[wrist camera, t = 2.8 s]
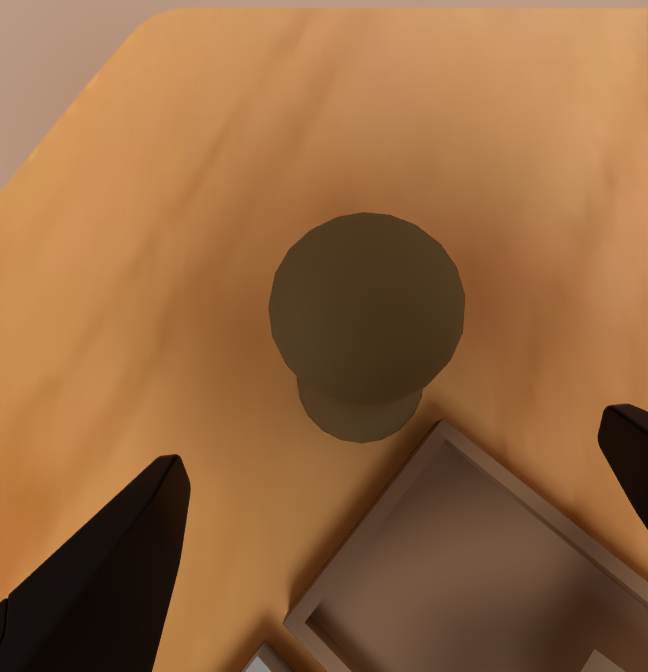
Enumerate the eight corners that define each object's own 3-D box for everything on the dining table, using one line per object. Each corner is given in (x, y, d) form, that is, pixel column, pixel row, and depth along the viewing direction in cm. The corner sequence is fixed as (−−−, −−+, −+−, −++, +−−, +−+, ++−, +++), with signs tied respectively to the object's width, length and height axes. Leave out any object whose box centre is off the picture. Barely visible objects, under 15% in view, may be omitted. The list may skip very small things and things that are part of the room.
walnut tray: (769, 690, 16) (810, 712, 14) (627, 967, 14) (658, 1023, 12) (436, 421, 19) (443, 418, 18) (288, 611, 18) (282, 624, 16)
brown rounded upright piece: (319, 305, 22) (288, 151, 11) (436, 338, 21) (522, 204, 10) (279, 420, 20) (199, 366, 10) (404, 460, 19) (469, 451, 9)
